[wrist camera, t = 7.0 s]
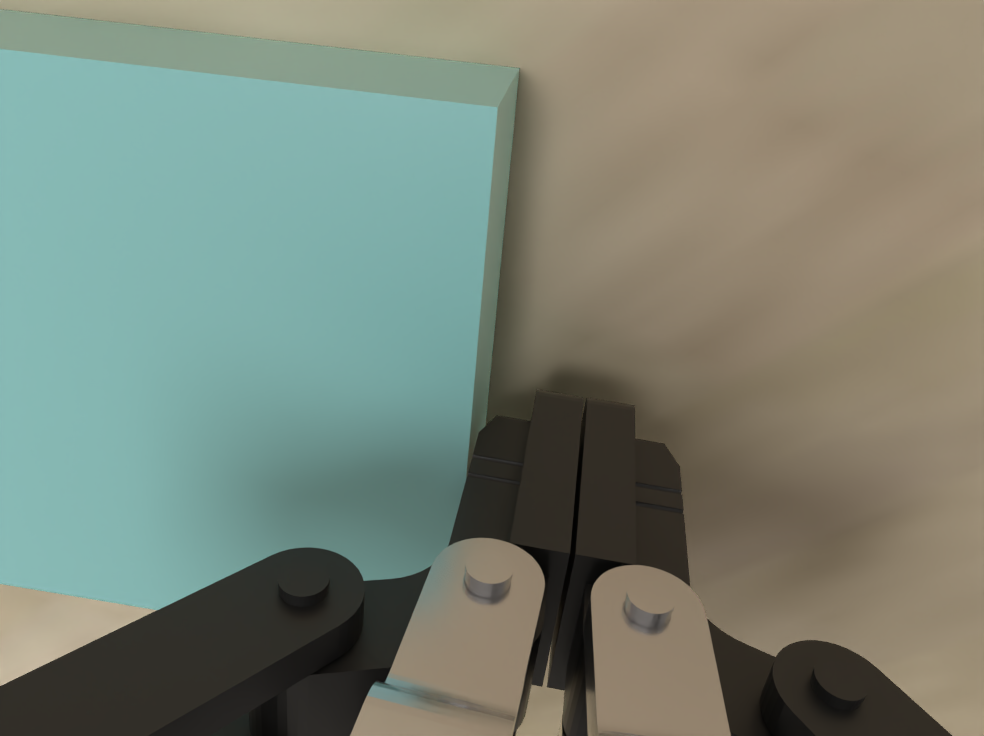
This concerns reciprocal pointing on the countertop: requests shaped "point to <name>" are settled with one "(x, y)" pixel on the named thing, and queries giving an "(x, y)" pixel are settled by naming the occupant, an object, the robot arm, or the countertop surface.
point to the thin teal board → (238, 302)
